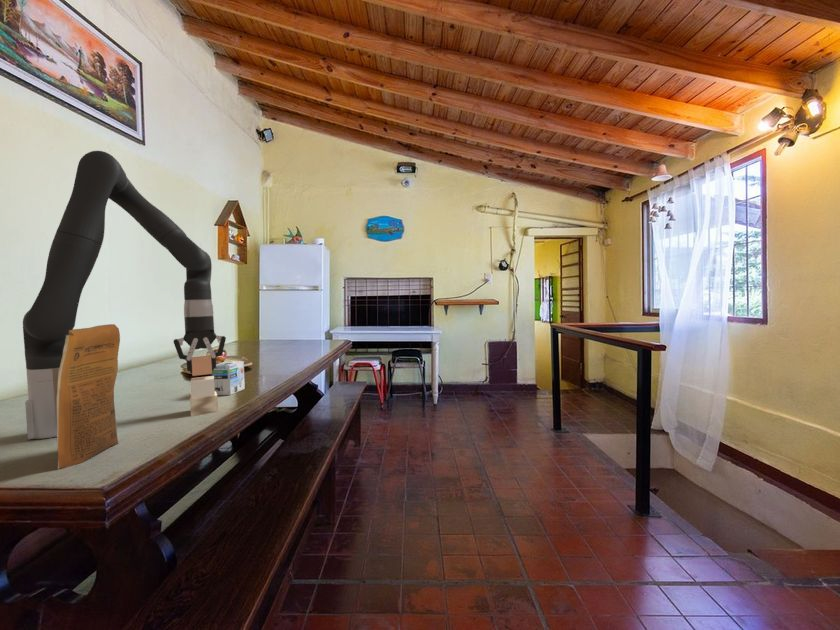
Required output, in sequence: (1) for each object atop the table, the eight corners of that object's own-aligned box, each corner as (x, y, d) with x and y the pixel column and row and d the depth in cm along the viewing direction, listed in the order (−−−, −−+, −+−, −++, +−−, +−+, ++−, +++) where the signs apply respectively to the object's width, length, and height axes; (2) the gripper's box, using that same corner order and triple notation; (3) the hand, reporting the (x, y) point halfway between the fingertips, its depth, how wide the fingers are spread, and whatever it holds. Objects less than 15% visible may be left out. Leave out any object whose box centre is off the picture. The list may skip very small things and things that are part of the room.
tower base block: (190, 416, 109) (190, 399, 109) (190, 410, 115) (189, 394, 114) (218, 412, 112) (217, 395, 112) (216, 406, 118) (215, 391, 118)
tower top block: (191, 398, 109) (190, 381, 109) (192, 394, 115) (191, 378, 114) (214, 395, 112) (213, 379, 112) (214, 391, 117) (213, 375, 117)
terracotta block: (192, 376, 110) (191, 359, 110) (192, 373, 114) (191, 357, 114) (212, 373, 112) (211, 357, 112) (211, 371, 117) (210, 355, 116)
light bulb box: (230, 395, 132) (229, 365, 132) (212, 396, 133) (210, 365, 132) (245, 388, 143) (244, 360, 143) (228, 388, 143) (226, 360, 143)
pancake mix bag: (137, 436, 93) (131, 323, 92) (77, 470, 74) (68, 328, 73) (107, 438, 92) (100, 324, 91) (38, 473, 73) (29, 329, 72)
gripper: (169, 316, 106) (173, 376, 106) (227, 314, 113) (229, 370, 114) (170, 316, 112) (173, 372, 113) (224, 313, 120) (227, 367, 120)
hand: (202, 371), depth 113 cm, fingers closed on terracotta block, 5 cm apart
